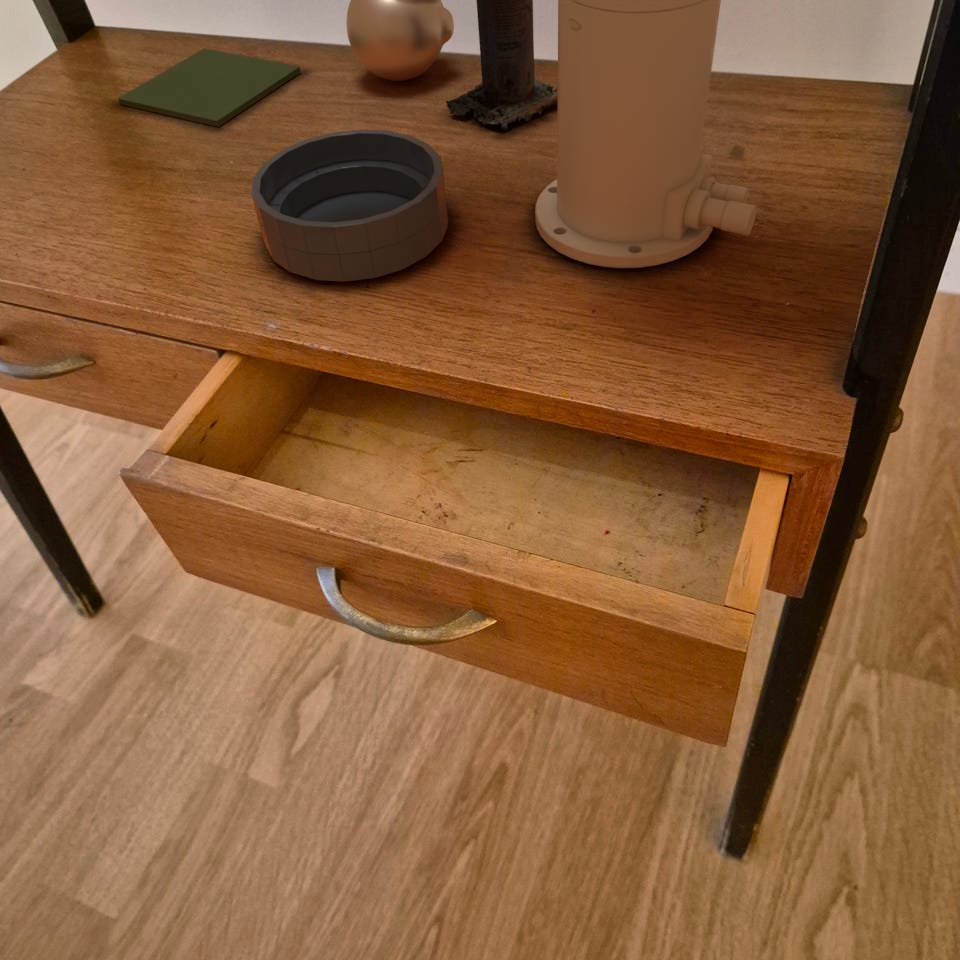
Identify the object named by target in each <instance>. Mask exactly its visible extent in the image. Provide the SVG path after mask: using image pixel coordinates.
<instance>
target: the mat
mask: <svg viewBox="0 0 960 960" xmlns="http://www.w3.org/2000/svg"><path fill="white" fill-rule="evenodd" d="M299 74H301V67H300V66H298V65H294V64H293V65H292V64H287V63H282V62H277V61H272V60H267V59H262V58H257V57H251V56H245V55H241V54H236V53H229V52H225V51H218V50H213V49H209V48H202V49H201V50H199V51H197V52H195V53H194V54H192V55H191V56H189V57H187V58H185V59H183V60H182V61H180V62H178V63H177V64H175V65H173V66H171V67H170V68H168V69H166V70H165V71H163V72H161V73H159V74H158V75H156V76H154V77H152V78H151V79H149V80H147V81H146V82H144V83H142V84H140V85H138V86H137V87H135V88H133V89H132V90H130V91H128V92H127V93H125V94H122V95H120V97H117V100H118V103H119V105H121V106H125V107H130V108H134V109H138V110H143V111H148V112H151V113H155V114H161V115H164V116H168V117H173V118H178V119H182V120H186V121H191V122H194V123H199V124H204V125H207V126H212V127H217V128H219V127H221V126H223V125H224V124H226V123H227V122H229V121H230V120H231V119H233V118H234V117H236V116H238V115H239V114H241V113H242V112H244V111H245V110H247V109H248V108H250V107H252V106H253V105H255V104H256V103H257V102H259V101H260V100H262V99H263V98H266V96H268V95H269V94H271V93H272V92H275V90H277V89H278V88H280V87H281V86H283V85H285V84H286V83H288V82H289V81H290V80H292V79H293V78H295V77H296V76H298V75H299Z"/></svg>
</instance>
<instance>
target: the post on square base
mask: <svg viewBox="0 0 960 960" xmlns="http://www.w3.org/2000/svg"><path fill="white" fill-rule="evenodd" d="M475 1H476V11H477V26H478V27H477V28H478V42H479V54H480V56H479V57H480V66H481V68H480V69H481V83H479V84H477V85H474V86H475V87H474V88H472V89H471V90H467V91H466V93H463V94H460V95H458V97H456V98H454V99H450V100H449V99H448V100H445V103H446V106H445V108H448V110H449V111H450V112H449V114H450V115H455V117H458V116H461V117H462V118H464V116H466V114H467V113H469V114H470V113H471V110H473V117H474V119H476V118H477V120H478V122H482V124H483V125H485V126H486V125H500V124H501V130H504V131H506V132H508V127H509V126H508V125H509V124H513V123H515V122H516V121H517V122H518V123H519V122H520V121H521V120H525V122H528V121H529V122H530V121H531V119H532V117H533V115H535V114H537V113H538V114H539V115H541V114H542V112H543V111H544V110H546V109H547V108H549V107H550V106H551V105H558V88H556V87H554V86H553V85H551V83H546V84H545V83H544V82H542V81H540V80H538V79H536V77H535V47H534V45H535V44H534V43H535V42H534V0H475Z"/></svg>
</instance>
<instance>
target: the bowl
mask: <svg viewBox="0 0 960 960" xmlns="http://www.w3.org/2000/svg"><path fill="white" fill-rule="evenodd" d="M442 162H443V161H442V157H441V156H440V155H439V154H438V153H437V152H436V150H435V149H434V148H433V147H432V146H431V145H430V144H429V143H427V142H425V141H423V140H421V139H418V138H417V137H415V136H412V135H410V134H406V133H401V132H396V131H391V130H386V129H385V130H384V129H353V130H344V131H343V130H342V131H335V132H329V133H325V134H321V135H318V136H314V137H310V138H306V139H303V140H301V141H299V142H297V143H294V144H292V145H290V146H287V147H285V148H283V149H281V150H280V151H278V152H277V153H276V154H274V155H272V156H271V157H270V158H268V159H267V160H266V161H264V162H263V163H262V164H261V166H260V168H259V169H258V170H257V172H256V173H255V174H254V176H253V177H252V181H251V182H252V183H251V191H250V194H251V199H252V202H253V205H254V209H255V213H256V217H257V220H258V224H259V228H260V231H261V235H262V239H263V242H264V247H265V248H266V250H267V252H268V253H269V256H270V257H271V259H272V261H273V262H274V263H276V264H278V265H279V266H280V267H282V269H285V271H287V272H289V273H291V274H295V275H298V276H300V277H301V276H302V277H305V278H308V279H311V280H315V281H325V282H326V281H327V282H341V283H343V282H352V281H361V280H368V279H369V280H370V279H377V278H380V277H383V276H386V275H390V274H393V273H396V272H399V271H403V270H405V269H406V268H408V267H410V266H412V265H414V264H416V263H417V262H419V261H421V260H423V259H425V258H426V257H428V255H430V253H432V252H433V251H434V250H435V249H436V248H437V247H438V246H439V244H440V243H441V242H443V239H444V237H445V235H446V231H447V229H448V226H449V217H448V216H449V215H448V207H447V206H448V205H447V196H446V186H445V184H446V183H445V175H444V167H443V163H442Z"/></svg>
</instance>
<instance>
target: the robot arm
mask: <svg viewBox="0 0 960 960" xmlns="http://www.w3.org/2000/svg"><path fill="white" fill-rule="evenodd" d="M721 1H722V0H557V89H558V104H557V118H556V119H557V121H556V122H557V127H556V128H557V129H556V131H557V134H556V137H557V138H556V139H557V141H556V142H557V144H556V161H557V162H556V178H555V180H553V181H552V182H551V183H549V184H547V186H545V188H544V189H543V190H542V191H541V193H540V194H539V195H538V198H537V200H536V202H535V211H534V214H535V215H534V219H535V227H536V230H537V231H538V234H539V236H540V237H541V238H542V239H543V241H544V242H545V243H546V244H547V245H548V246H550V247H551V248H552V249H553V250H555V251H557V252H558V253H560V254H562V255H564V256H566V257H568V258H569V259H572V260H575V261H577V262H581V263H584V264H586V265H593V266H598V267H602V268H611V269H613V268H614V269H640V268H647V267H656V266H659V265H664V264H667V263H670V262H674V261H676V260H679V259H680V258H683V257H685V256H687V255H689V254H691V253H692V252H694V251H696V250H697V249H698V248H700V247H701V246H703V244H704V243H705V242H706V241H707V240H708V239H709V236H710V235H711V234H712V231H713V230H714V228H716V229H720V230H721V231H725V232H729V233H733V234H738V235H743V236H746V237H748V236H749V235H750V234H751V232H752V229H753V227H754V224H755V221H756V217H757V212H758V206H757V205H755V204H749V203H747V202H748V200H749V196H750V195H749V194H750V188H749V187H746V186H741V185H735V184H725V183H720V182H717V178H715V177H713V176H711V172H712V171H711V170H712V164H713V158H714V157H713V155H711V154H705V153H702V152H701V151H702V145H703V137H704V129H705V122H706V116H707V115H706V113H707V109H708V108H707V107H708V99H709V93H710V85H711V78H712V70H713V61H714V55H715V47H716V39H717V32H718V25H719V17H720V9H721Z"/></svg>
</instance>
